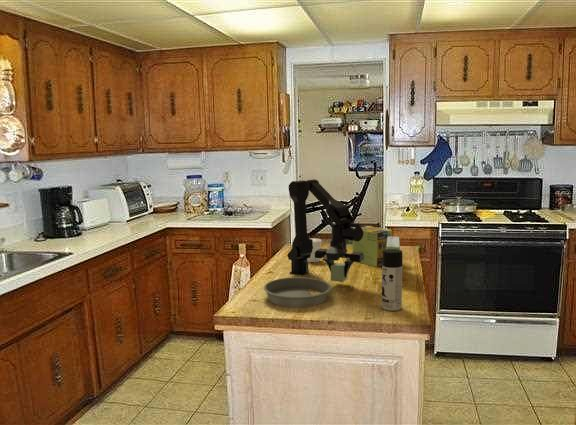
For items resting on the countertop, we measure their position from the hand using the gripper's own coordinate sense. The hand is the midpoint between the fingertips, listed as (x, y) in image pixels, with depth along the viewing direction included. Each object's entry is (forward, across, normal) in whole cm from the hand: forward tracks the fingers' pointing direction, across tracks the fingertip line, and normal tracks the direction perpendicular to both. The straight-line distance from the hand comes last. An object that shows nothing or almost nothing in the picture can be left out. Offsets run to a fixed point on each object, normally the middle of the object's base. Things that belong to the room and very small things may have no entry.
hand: (339, 276), depth 200 cm
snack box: (+4, +16, +20) cm, 26 cm away
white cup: (+4, -25, +31) cm, 40 cm away
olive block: (+1, 0, 0) cm, 1 cm away
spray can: (+4, +26, -18) cm, 32 cm away
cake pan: (+4, -8, -20) cm, 22 cm away
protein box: (+4, +1, +40) cm, 40 cm away
